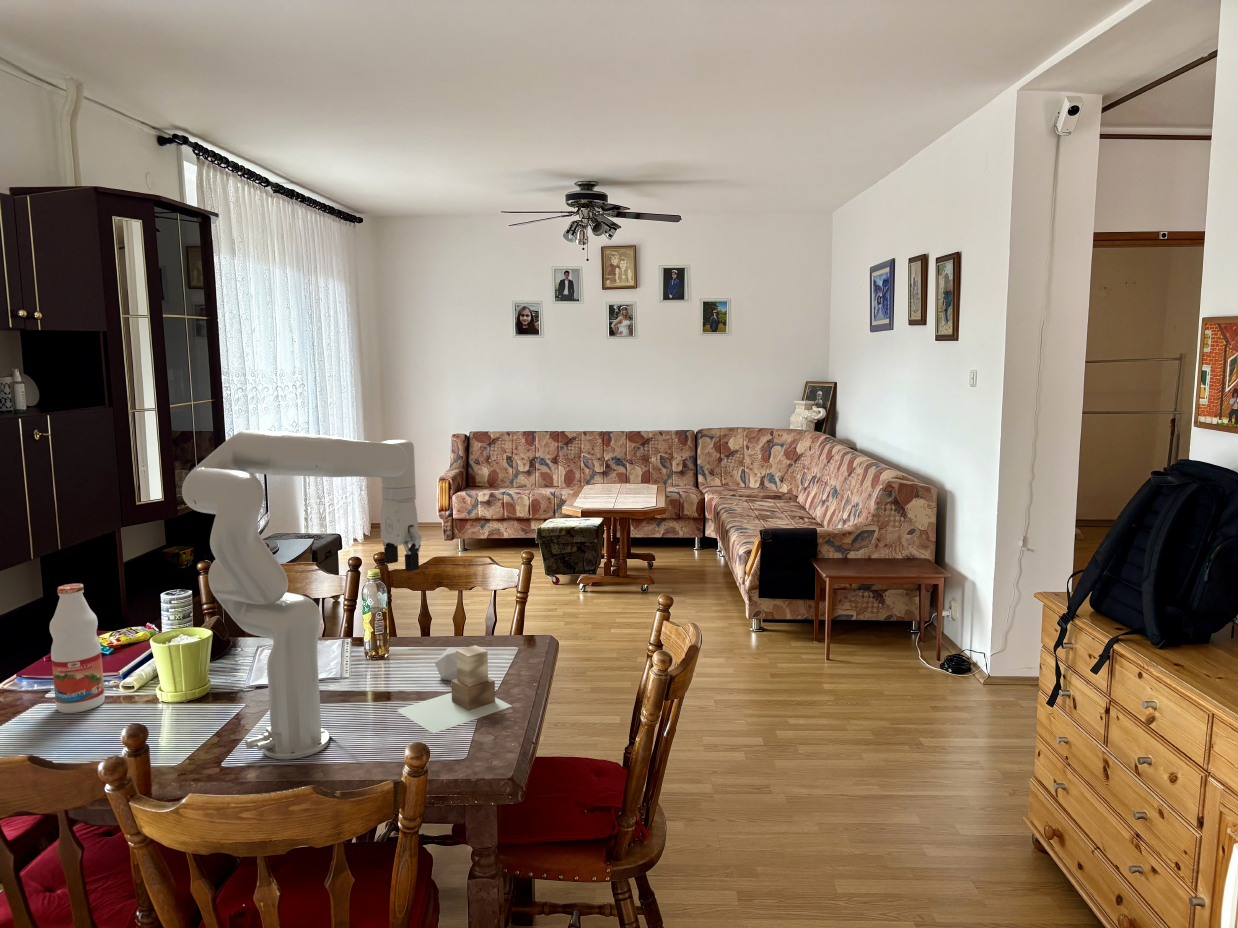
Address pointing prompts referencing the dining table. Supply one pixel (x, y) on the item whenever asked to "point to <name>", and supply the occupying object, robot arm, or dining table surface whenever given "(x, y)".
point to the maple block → (472, 665)
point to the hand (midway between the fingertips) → (401, 566)
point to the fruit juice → (76, 653)
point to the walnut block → (473, 694)
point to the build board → (446, 712)
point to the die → (448, 664)
